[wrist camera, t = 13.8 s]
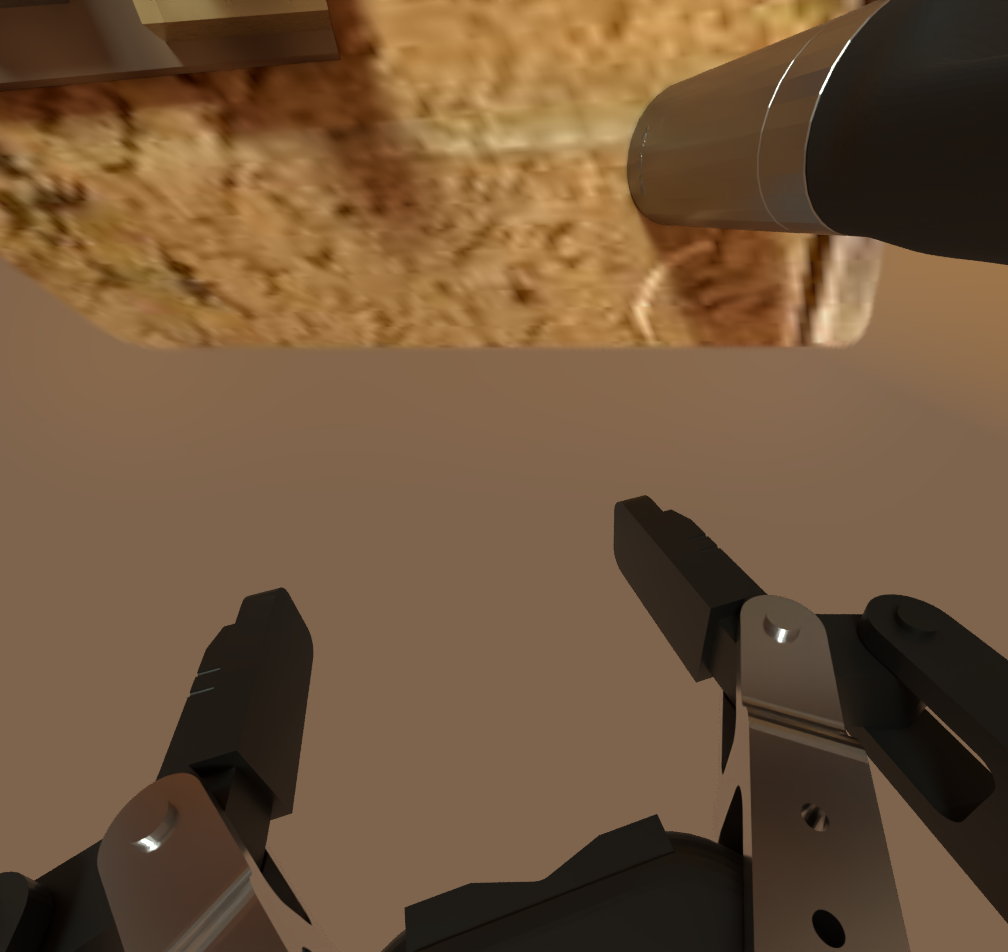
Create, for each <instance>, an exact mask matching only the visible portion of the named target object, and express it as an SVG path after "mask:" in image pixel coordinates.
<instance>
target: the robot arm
mask: <svg viewBox="0 0 1008 952" xmlns="http://www.w3.org/2000/svg"><path fill="white" fill-rule="evenodd" d="M627 171H628V182H629V186H630V191H631V194H632V196H633V199H634V201H635V203H636V205H637V206H638V208H639V209H640V210H641V212H642V213H643V214H644V215H645V216H647V217H648V218H649V219H650V220H652V221H654V222H657V223H659V224H664V225H676V226H691V227H703V228H720V229H737V230H754V231H770V232H787V233H809V234H826V235H843V236H860V237H869V238H873V239H876V240H880V241H883V242H886V243H889V244H892V245H896V246H899V247H902V248H905V249H909V250H912V251H916V252H921V253H925V254H930V255H936V256H943V257H949V258H957V259H966V260H974V261H982V262H990V263H997V264H1004V265H1008V0H878V1H875V2H873V3H871V4H868V5H866V6H863V7H861V8H858V9H856V10H854V11H851V12H849V13H847V14H845V15H842V16H840V17H838V18H835V19H833V20H830V21H828V22H825V23H823V24H820V25H818V26H816V27H813V28H811V29H808V30H806V31H803V32H801V33H799V34H796V35H794V36H791V37H789V38H786V39H784V40H782V41H779V42H777V43H774V44H772V45H769V46H767V47H764V48H762V49H760V50H757V51H755V52H752V53H750V54H747V55H745V56H743V57H740V58H738V59H735V60H733V61H730V62H728V63H725V64H723V65H721V66H718V67H716V68H713V69H710V70H708V71H705V72H703V73H701V74H698V75H696V76H694V77H691V78H689V79H686V80H684V81H682V82H679V83H677V84H675V85H672V86H670V87H668V88H667V89H666V90H664V91H663V92H661V93H660V94H659V95H658V96H657V97H656V98H655V99H654V100H653V101H652V102H651V103H650V104H649V105H648V107H647V108H646V110H645V111H644V113H643V114H642V116H641V118H640V119H639V121H638V124H637V126H636V128H635V131H634V133H633V136H632V140H631V143H630V147H629V153H628V162H627ZM614 554H615V558H616V561H617V564H618V567H619V569H620V570H621V572H622V574H623V575H624V577H625V578H626V580H627V581H628V583H629V584H630V585H631V587H632V589H633V590H634V592H635V593H636V594H637V596H638V597H639V599H640V600H641V602H642V603H643V605H644V606H645V608H646V609H647V611H648V612H649V614H650V615H651V616H652V618H653V620H654V621H655V623H656V624H657V625H658V627H659V628H660V630H661V631H662V633H663V634H664V636H665V637H666V639H667V640H668V642H669V643H670V645H671V646H672V647H673V649H674V650H675V652H676V653H677V655H678V656H679V658H680V659H681V661H682V662H683V664H684V665H685V667H686V668H687V670H688V671H689V672H690V674H691V676H692V677H693V678H694V680H695V681H696V682H699V681H702V680H705V679H708V678H711V677H714V678H715V680H716V681H717V682H718V684H719V685H720V687H721V692H720V709H719V711H720V712H719V745H718V746H719V747H718V779H717V791H716V799H715V806H714V815H713V828H712V841H711V840H709V839H706V838H703V837H699V836H696V835H692V834H688V833H681V832H673V831H665V830H664V828H663V826H662V824H661V821H660V819H659V817H658V815H657V814H656V815H653V816H650V817H648V818H645V819H642V820H640V821H637V822H634V823H631V824H629V825H626V826H623V827H621V828H618V829H615V830H613V831H610V832H607V833H604V834H602V835H599V836H598V837H597V838H595V839H594V840H593V841H592V842H590V843H589V844H588V845H587V846H585V847H584V848H583V849H582V850H580V851H579V852H578V853H577V854H576V855H574V856H573V857H572V858H570V859H569V860H568V861H567V862H566V863H564V864H563V865H562V866H561V867H560V868H558V869H557V870H556V871H554V872H553V873H552V874H551V875H549V876H548V877H547V878H545V879H543V880H541V881H536V882H498V883H470V884H467V885H464V886H462V887H459V888H456V889H453V890H451V891H448V892H446V893H443V894H440V895H437V896H435V897H432V898H429V899H427V900H424V901H421V902H418V903H416V904H413V905H410V906H408V907H405V923H406V924H405V926H406V929H405V930H404V931H403V932H401V933H400V934H399V935H398V936H397V937H396V938H395V939H394V940H393V941H392V942H390V943H389V945H388V946H387V947H385V949H383V950H382V952H910V947H909V943H908V938H907V934H906V929H905V925H904V920H903V916H902V911H901V907H900V902H899V897H898V893H897V889H896V884H895V879H894V875H893V870H892V866H891V861H890V857H889V852H888V848H887V843H886V838H885V834H884V829H883V825H882V821H881V816H880V811H879V807H878V803H877V798H876V794H875V789H874V784H873V780H872V775H871V771H870V766H869V762H868V758H867V755H868V757H869V758H870V759H871V760H872V761H873V763H874V764H875V765H876V766H877V767H878V769H879V770H880V771H881V772H882V773H883V775H884V776H885V777H886V778H887V779H888V780H889V782H890V783H891V784H892V785H893V787H894V788H895V789H896V790H897V791H898V792H899V794H900V795H901V796H902V797H903V799H904V800H905V801H906V802H907V803H908V805H909V806H910V807H911V808H912V809H913V811H914V812H915V813H916V814H917V815H918V816H919V818H920V819H921V820H922V821H923V822H924V824H925V825H926V826H927V827H928V829H929V830H930V831H931V832H932V833H933V835H935V837H936V838H937V839H938V840H939V842H940V843H941V844H942V845H943V846H944V848H945V849H946V850H947V851H948V852H949V854H950V855H951V856H952V857H953V858H954V859H955V861H956V862H957V863H958V864H959V866H960V867H961V868H962V869H963V870H964V872H965V873H966V874H967V875H968V876H969V877H970V879H971V880H972V881H973V882H974V884H975V885H976V886H977V887H978V888H979V890H980V891H981V892H982V893H983V894H984V896H985V897H986V898H987V899H988V900H989V902H990V903H991V904H992V905H993V906H994V907H995V909H996V910H997V911H998V912H999V913H1000V915H1001V916H1002V917H1003V918H1004V920H1005V921H1006V922H1007V923H1008V660H1007V659H1005V658H1004V657H1003V656H1001V655H1000V654H999V653H997V652H996V651H995V650H993V649H992V648H991V647H990V646H988V645H987V644H986V643H984V642H983V641H982V640H980V639H979V638H978V637H977V636H975V635H974V634H973V633H971V632H970V631H969V630H967V629H966V628H965V627H963V626H962V625H961V624H959V623H958V622H957V621H955V620H954V619H953V618H952V617H950V616H949V615H947V614H946V613H944V612H943V611H942V610H940V609H938V608H936V607H935V606H933V605H930V604H928V603H926V602H924V601H921V600H918V599H915V598H911V597H908V596H903V595H881V596H878V597H875V598H874V599H872V600H871V601H870V602H869V603H868V605H867V607H866V609H865V611H864V613H863V614H857V615H856V614H814V613H813V612H812V611H810V610H809V609H808V608H806V607H805V606H803V605H802V604H800V603H798V602H796V601H794V600H791V599H788V598H784V597H781V596H775V595H768V594H766V593H765V592H764V591H763V590H762V589H761V588H760V587H759V586H758V585H757V584H756V583H755V582H754V581H753V580H752V579H751V578H750V577H749V576H748V575H747V574H746V573H745V572H744V571H743V570H742V569H741V568H740V567H739V566H738V565H737V564H736V563H735V562H733V560H732V559H730V557H728V555H727V554H726V553H725V552H723V551H722V550H721V549H720V548H719V549H718V547H717V545H716V544H715V543H714V542H713V541H712V540H711V539H710V538H709V537H706V535H705V533H704V532H703V531H702V530H701V529H700V528H699V527H698V526H697V525H696V524H695V523H694V522H693V521H692V520H691V519H689V518H687V517H685V516H683V515H681V514H679V513H677V512H675V511H673V510H668V511H664V512H663V511H662V510H661V509H660V508H659V507H658V506H657V505H656V503H655V502H654V501H653V500H652V499H651V498H649V497H648V496H646V495H644V496H640V497H636V498H632V499H629V500H624V501H620V502H617V503H616V505H615V509H614ZM312 662H313V643H312V639H311V635H310V632H309V630H308V628H307V626H306V624H305V623H304V621H303V619H302V617H301V615H300V614H299V612H298V610H297V608H296V606H295V604H294V603H293V601H292V599H291V597H290V595H289V593H288V592H287V591H286V589H284V588H278V589H274V590H270V591H266V592H262V593H258V594H254V595H250V596H247V597H246V598H244V600H243V602H242V605H241V607H240V611H239V614H238V617H237V620H236V622H235V624H232V625H228V626H225V627H223V628H222V630H221V631H220V632H219V634H218V635H217V636H216V637H215V639H214V640H213V641H212V642H211V644H210V645H209V646H208V648H207V649H206V651H205V653H204V656H203V659H202V661H201V664H200V667H199V669H198V672H197V673H198V677H196V678H195V680H194V682H193V685H192V688H191V691H190V697H188V698H187V701H186V703H185V706H184V709H183V712H182V714H181V717H180V719H179V722H178V725H177V727H176V730H175V732H174V735H173V738H172V740H171V743H170V746H169V748H168V751H167V753H166V756H165V759H164V762H163V764H162V767H161V769H160V772H159V774H158V777H157V779H156V781H155V782H153V783H152V784H150V785H149V786H147V787H146V788H144V789H143V790H142V791H140V792H139V793H138V794H137V795H136V796H135V797H134V798H132V799H131V800H130V801H129V802H128V803H127V804H126V805H125V806H124V807H123V809H122V810H121V811H120V812H119V814H118V815H117V816H116V817H115V819H114V820H113V822H112V823H111V825H110V826H109V828H108V830H107V832H106V833H105V835H104V837H103V839H102V840H100V841H99V842H97V843H95V844H94V845H92V846H91V847H89V848H87V849H86V850H84V851H83V852H81V853H79V854H78V855H76V856H74V857H73V858H71V859H69V860H68V861H66V862H64V863H63V864H61V865H59V866H58V867H56V868H55V869H53V870H52V871H49V872H48V873H46V874H45V875H43V876H41V877H40V878H38V879H36V880H35V881H34V880H32V879H30V878H28V877H26V876H24V875H22V874H20V873H17V872H4V873H0V952H340V951H339V950H338V949H337V948H336V946H335V945H334V944H333V943H332V942H331V940H330V939H329V938H328V937H327V935H326V934H325V933H324V931H323V930H322V929H321V927H320V926H319V924H318V923H317V921H316V920H315V918H314V917H313V915H312V913H311V912H310V911H309V909H308V907H307V906H306V904H305V903H304V901H303V899H302V898H301V896H300V895H299V893H298V892H297V890H296V888H295V887H294V885H293V884H292V882H291V881H290V879H289V877H288V876H287V874H286V873H285V871H284V870H283V868H282V866H281V865H280V863H279V862H278V860H277V859H276V857H275V856H274V854H273V852H272V851H271V849H270V848H269V847H268V845H267V844H266V841H267V835H268V829H269V824H270V820H273V819H276V818H279V817H282V816H285V815H288V814H291V813H292V810H293V803H294V795H295V788H296V781H297V773H298V766H299V758H300V751H301V744H302V736H303V729H304V721H305V714H306V707H307V699H308V692H309V685H310V677H311V670H312ZM926 706H928V707H929V708H930V709H931V710H932V711H933V712H934V713H935V714H936V715H937V716H938V717H939V718H940V719H941V720H942V721H943V722H944V723H945V724H946V725H947V726H949V728H950V729H952V730H953V731H954V732H955V733H956V734H957V735H958V736H959V737H960V738H961V739H962V740H963V741H964V742H965V743H966V744H967V745H968V746H969V747H970V748H971V749H972V750H973V751H974V752H975V753H976V754H978V756H979V757H980V758H981V759H982V760H983V761H984V762H985V763H986V765H987V767H988V768H989V769H990V771H991V772H990V771H989V770H988V769H986V768H985V767H984V766H983V765H982V764H981V763H980V762H979V761H978V760H977V759H976V758H975V757H974V756H973V755H972V754H971V753H970V752H969V751H968V750H967V749H966V748H965V747H964V746H963V745H962V744H961V743H960V742H959V741H958V740H957V739H956V738H955V737H954V736H953V735H952V734H951V733H950V732H948V731H947V730H946V729H945V728H944V727H943V726H942V725H941V724H940V723H939V722H938V721H937V720H936V719H935V718H934V717H933V716H932V715H931V714H930V713H929V712H928V711H927V710H926V709H925V707H926ZM845 729H846V730H847V732H849V734H850V735H851V736H852V737H851V736H848V734H847V733H846V730H845ZM866 754H867V755H866Z"/></svg>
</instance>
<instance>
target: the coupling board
mask: <svg viewBox="0 0 1008 952" xmlns="http://www.w3.org/2000/svg"><path fill="white" fill-rule="evenodd" d="M69 2H70V3H68V4H53V5H39V6H25V7H10V8H0V91H7V90H18V89H28V88H39V87H50V86H60V85H71V84H82V83H92V82H103V81H114V80H124V79H135V78H146V77H156V76H167V75H178V74H188V73H199V72H210V71H221V70H231V69H242V68H253V67H263V66H274V65H285V64H295V63H306V62H317V61H327V60H338V59H340V58H339V53H338V49H337V45H336V41H335V37H334V32H333V29H326V30H314V31H302V32H291V33H279V34H267V35H255V36H243V37H231V38H219V39H207V40H195V41H183V42H171V43H165V42H164V41H163V40H162V39H160V38H159V37H158V36H156V35H155V34H154V33H153V32H151V31H150V30H149V29H148V28H146V27H145V26H144V25H143V24H142V22H141V20H140V17H139V15H138V12H137V10H136V8H135V5H134V3H133V0H69Z"/></svg>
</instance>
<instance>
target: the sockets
mask: <svg viewBox="0 0 1008 952" xmlns="http://www.w3.org/2000/svg"><path fill="white" fill-rule="evenodd" d="M68 3H70V2H69V0H0V8H10V7H25V6H39V5H53V4H68ZM133 3H134V5H135V8H136V10H137V12H138V15H139V17H140V20H141V22H142V24H143V25H144V26H145V27H146V28H148V29H149V30H150V31H151V32H153V33H154V34H155V35H156V36H158V37H159V38H160V39H162V40H163V41H164V42H165V43H171V42H183V41H195V40H207V39H219V38H231V37H243V36H255V35H267V34H279V33H291V32H302V31H314V30H326V29H333V28H332V24H331V19H330V15H329V11H328V6H327V2H326V0H133Z"/></svg>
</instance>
